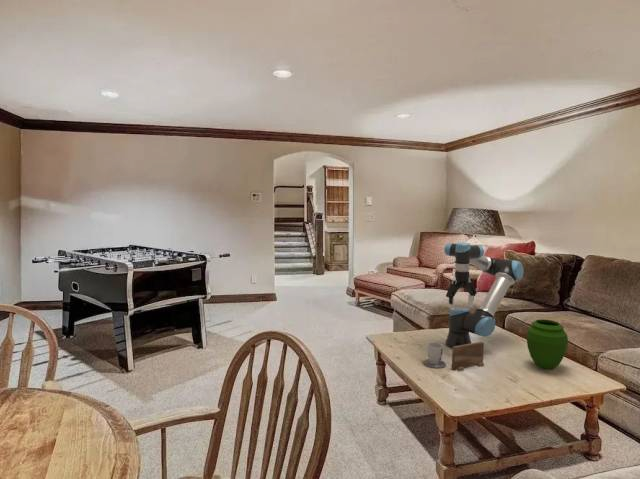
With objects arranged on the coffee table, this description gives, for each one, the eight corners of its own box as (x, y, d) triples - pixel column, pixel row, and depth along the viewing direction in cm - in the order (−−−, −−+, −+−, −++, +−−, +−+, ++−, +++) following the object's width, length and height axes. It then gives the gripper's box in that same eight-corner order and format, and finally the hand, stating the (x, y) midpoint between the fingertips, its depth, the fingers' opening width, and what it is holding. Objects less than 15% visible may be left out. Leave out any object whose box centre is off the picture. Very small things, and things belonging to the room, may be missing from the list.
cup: (443, 366, 215) (443, 348, 214) (427, 365, 217) (427, 347, 216) (441, 360, 223) (442, 343, 222) (426, 359, 225) (427, 342, 224)
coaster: (418, 361, 223) (418, 360, 223) (435, 358, 228) (435, 357, 228) (433, 370, 212) (433, 368, 212) (450, 366, 217) (450, 365, 217)
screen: (449, 367, 215) (449, 345, 214) (477, 361, 224) (478, 340, 222) (457, 371, 210) (457, 349, 209) (485, 365, 218) (486, 343, 217)
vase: (566, 377, 202) (569, 330, 200) (523, 369, 212) (525, 324, 210) (567, 364, 219) (569, 320, 216) (526, 357, 229) (528, 315, 227)
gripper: (449, 273, 216) (448, 312, 218) (484, 270, 226) (483, 307, 228) (439, 271, 223) (439, 309, 224) (474, 268, 233) (472, 304, 235)
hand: (461, 308), depth 226 cm, fingers open, 13 cm apart
